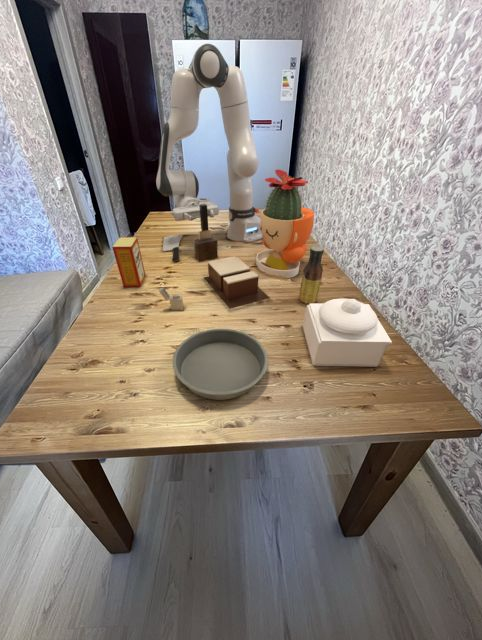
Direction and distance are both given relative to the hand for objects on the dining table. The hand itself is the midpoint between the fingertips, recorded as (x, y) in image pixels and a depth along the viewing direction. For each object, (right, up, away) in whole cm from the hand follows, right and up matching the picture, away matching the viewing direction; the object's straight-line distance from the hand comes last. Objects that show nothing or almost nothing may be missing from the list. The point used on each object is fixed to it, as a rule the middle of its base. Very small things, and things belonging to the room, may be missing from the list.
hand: (202, 217), depth 120 cm
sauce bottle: (+39, -40, -19) cm, 59 cm away
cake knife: (+1, -14, +10) cm, 17 cm away
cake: (+11, -30, -8) cm, 33 cm away
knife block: (+1, -14, +10) cm, 17 cm away
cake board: (+14, -33, -12) cm, 38 cm away
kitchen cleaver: (-16, -7, +18) cm, 25 cm away
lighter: (-8, -42, -21) cm, 48 cm away
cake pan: (+9, -62, -43) cm, 76 cm away
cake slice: (+16, -35, -16) cm, 42 cm away
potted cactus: (+34, -20, +3) cm, 40 cm away
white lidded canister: (+44, -55, -36) cm, 79 cm away
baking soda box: (-26, -29, -6) cm, 39 cm away
